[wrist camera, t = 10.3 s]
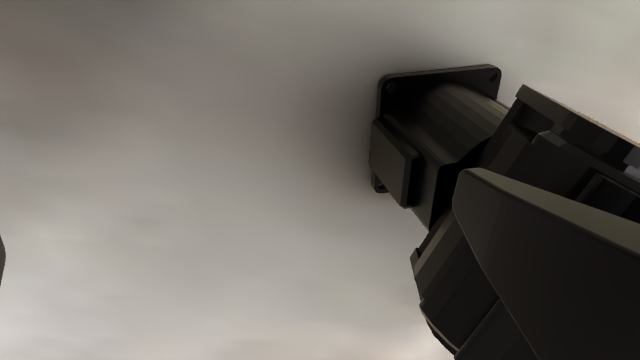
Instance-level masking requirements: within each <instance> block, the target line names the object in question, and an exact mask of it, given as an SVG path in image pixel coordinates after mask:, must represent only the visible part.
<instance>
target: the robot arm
mask: <svg viewBox="0 0 640 360" xmlns="http://www.w3.org/2000/svg"><path fill="white" fill-rule="evenodd" d="M492 72H493V74H492V77H491V78H490V79H488V77H489V75H490V74H491V73H492ZM500 80H501V70H500V69H499V68H497V67H496V66H494V65H483V66H473V67H463V68H453V69H442V70H432V71H422V72H412V73H401V74H391V75H386V76H384V77H383V78H382V79H381V80H380V82H379V85H378V96H377V110H376V118H375V119H374V120H373V122H372V124H371V139H370V153H369V166H370V167H371V168H372V179H371V185H372V187H373V189H374V190H375V191H376V192H377V193H387V192H390V194H391V195H392V196H393V198H394V199H395V200H396V202H397V203H398V204H399V205H400V206H401V207H402V208H403V209H407V208H411V209H412V211H413V212H414V213H415V214H416V216H417V217H418V218H419V220H420V221H421V222H422V223H423V225H424V226H425V227H426V229H427V230H428V231H429V233H428V235H427V236H426V238H425V239H424V241H423V242H422V244H421V245H420V247H419V248H416V249H415V250H414V252H413V253H412V255H411V256H410V261H411V265H412V269H413V273H414V279H415V281H416V284H417V288H418V292H419V296H420V300H421V302H420V304H419V306H420V309H421V312H422V314H423V316H424V317H425V319H426V321H427V324H428V326H429V327H430V329H431V331H432V333H433V335H434V336H435V337H436V338H437V339H438V340H439V341H440V343H441V344H442V345H443V346H444V347H445V348H446V349H447V350H448V351H450V352H451V353H452V354H453V355H454V359H455V360H640V144H639V143H637V142H635V141H633V140H631V139H629V138H627V137H625V136H623V135H622V134H620V133H618V132H616V131H614V130H612V129H610V128H608V127H606V126H605V125H603V124H601V123H599V122H597V121H595V120H593V119H591V118H589V117H587V116H585V115H583V114H581V113H579V112H577V111H575V110H573V109H571V108H569V107H567V106H565V105H564V104H562V103H560V102H558V101H556V100H554V99H552V98H550V97H548V96H546V95H544V94H542V93H540V92H538V91H536V90H534V89H532V88H530V87H528V86H526V85H524V84H523V85H522V86H521V88H520V89H519V91H518V92H517V94H516V95H515V97H517V99H516V100H515V102H514V104H513V105H512V107H511V108H509V107H507V106H506V105H504V104H502V103H501V102H499V101H498V100H496V99H497V94H498V89H499V85H500ZM389 83H393V86H392V87H391V89H389V90H386V87H387V85H388V84H389ZM381 182H382V183H383V184H382V185H380V186H378V185H379V184H380V183H381ZM5 260H6V253H5V248H4V244H3V242H2V239H1V236H0V285H1V280H2V275H3V270H4V266H5Z"/></svg>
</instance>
